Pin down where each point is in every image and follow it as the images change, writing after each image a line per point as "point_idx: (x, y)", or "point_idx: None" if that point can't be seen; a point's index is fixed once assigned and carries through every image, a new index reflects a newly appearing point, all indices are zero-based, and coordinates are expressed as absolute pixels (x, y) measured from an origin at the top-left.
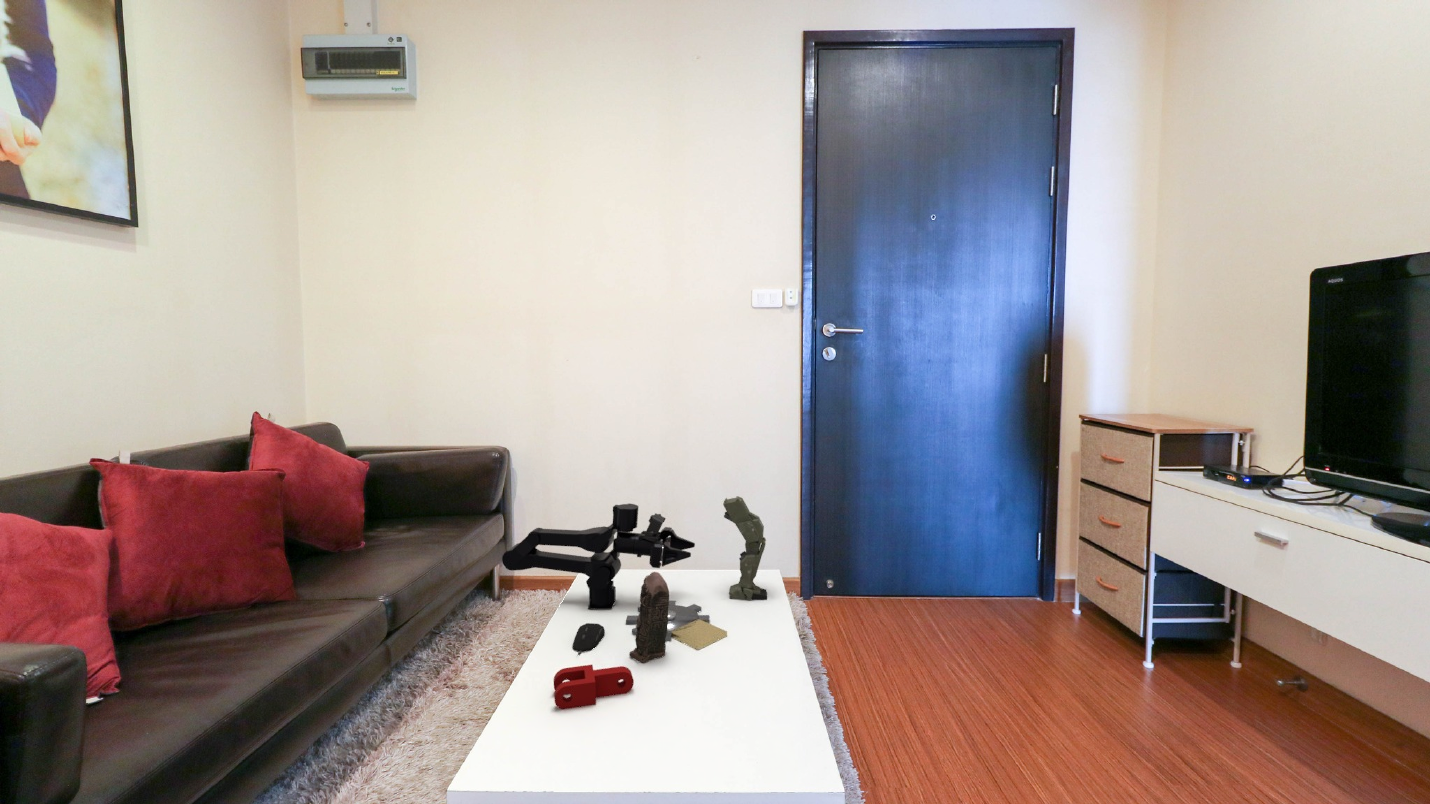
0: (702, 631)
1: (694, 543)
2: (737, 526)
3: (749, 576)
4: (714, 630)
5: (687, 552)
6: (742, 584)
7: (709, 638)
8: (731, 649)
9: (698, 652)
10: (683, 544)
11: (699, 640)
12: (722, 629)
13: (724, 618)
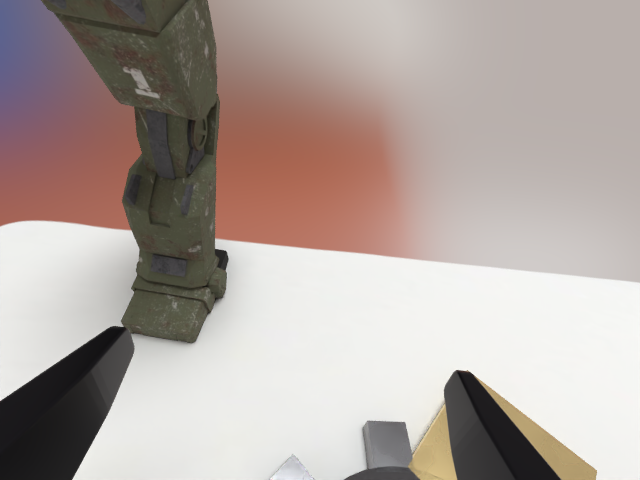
0: None
1: (123, 327)
2: (170, 46)
3: (213, 238)
4: None
5: (491, 397)
6: (207, 275)
7: (533, 426)
8: (525, 372)
9: None
10: (38, 472)
11: (564, 464)
12: None
13: (347, 374)
